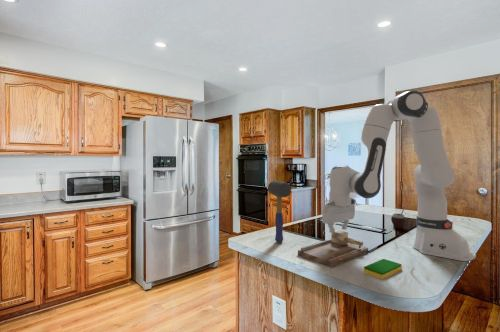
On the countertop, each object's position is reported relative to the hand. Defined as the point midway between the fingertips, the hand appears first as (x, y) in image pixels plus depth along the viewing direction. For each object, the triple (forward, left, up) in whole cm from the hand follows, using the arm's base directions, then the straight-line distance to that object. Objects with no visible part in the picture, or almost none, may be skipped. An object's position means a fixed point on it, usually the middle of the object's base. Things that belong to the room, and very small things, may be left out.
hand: (338, 230), depth 127 cm
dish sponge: (-26, +10, -8) cm, 29 cm away
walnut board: (-4, +9, -8) cm, 12 cm away
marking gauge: (-5, 0, -5) cm, 7 cm away
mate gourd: (-2, -57, -8) cm, 58 cm away
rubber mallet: (+22, +16, -8) cm, 29 cm away
